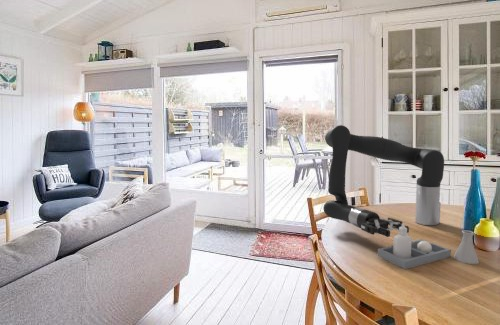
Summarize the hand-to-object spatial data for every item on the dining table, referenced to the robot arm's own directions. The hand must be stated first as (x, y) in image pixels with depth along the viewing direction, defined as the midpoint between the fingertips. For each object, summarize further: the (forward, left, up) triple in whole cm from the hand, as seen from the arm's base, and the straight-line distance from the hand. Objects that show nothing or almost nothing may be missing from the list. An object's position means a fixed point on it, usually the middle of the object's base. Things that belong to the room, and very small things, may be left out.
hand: (398, 232), depth 104 cm
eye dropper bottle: (0, +2, -9) cm, 9 cm away
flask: (-18, +11, -9) cm, 23 cm away
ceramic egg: (-10, +2, -8) cm, 13 cm away
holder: (-5, +2, -9) cm, 11 cm away
